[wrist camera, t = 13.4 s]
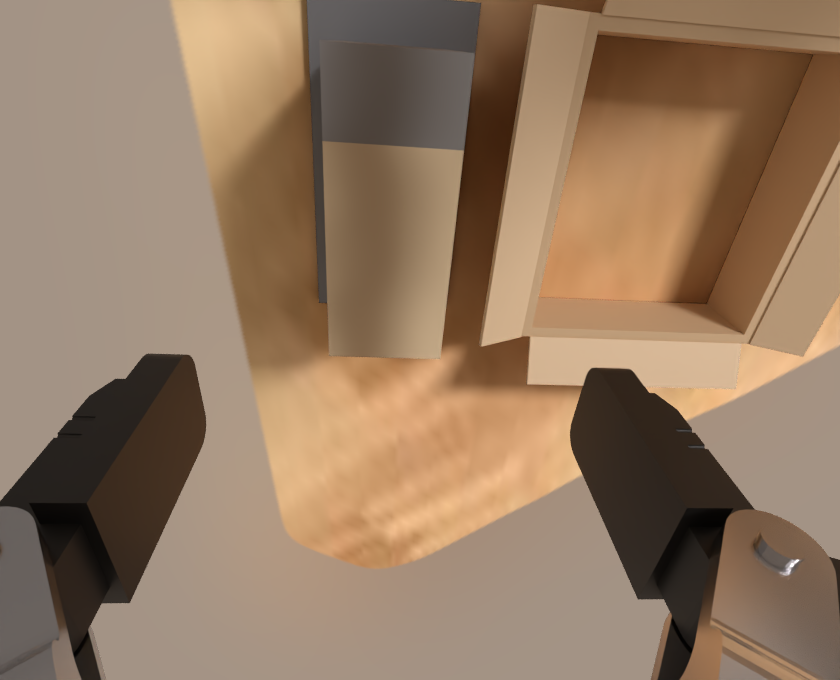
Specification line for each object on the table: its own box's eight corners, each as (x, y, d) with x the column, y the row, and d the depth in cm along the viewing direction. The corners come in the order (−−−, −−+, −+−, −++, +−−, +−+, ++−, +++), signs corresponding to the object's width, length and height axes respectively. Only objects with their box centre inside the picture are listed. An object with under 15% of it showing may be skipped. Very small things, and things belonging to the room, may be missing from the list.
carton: (907, -17, 23) (1030, -31, 19) (731, 345, 34) (783, 391, 30) (515, -59, 22) (549, -85, 17) (461, 337, 33) (473, 384, 28)
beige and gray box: (446, 49, 23) (475, 53, 16) (426, 277, 30) (440, 359, 22) (341, 40, 23) (319, 40, 15) (344, 273, 29) (328, 356, 22)
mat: (479, 3, 23) (481, 3, 22) (445, 304, 31) (446, 307, 31) (307, -13, 22) (306, -14, 22) (319, 299, 30) (319, 302, 30)
